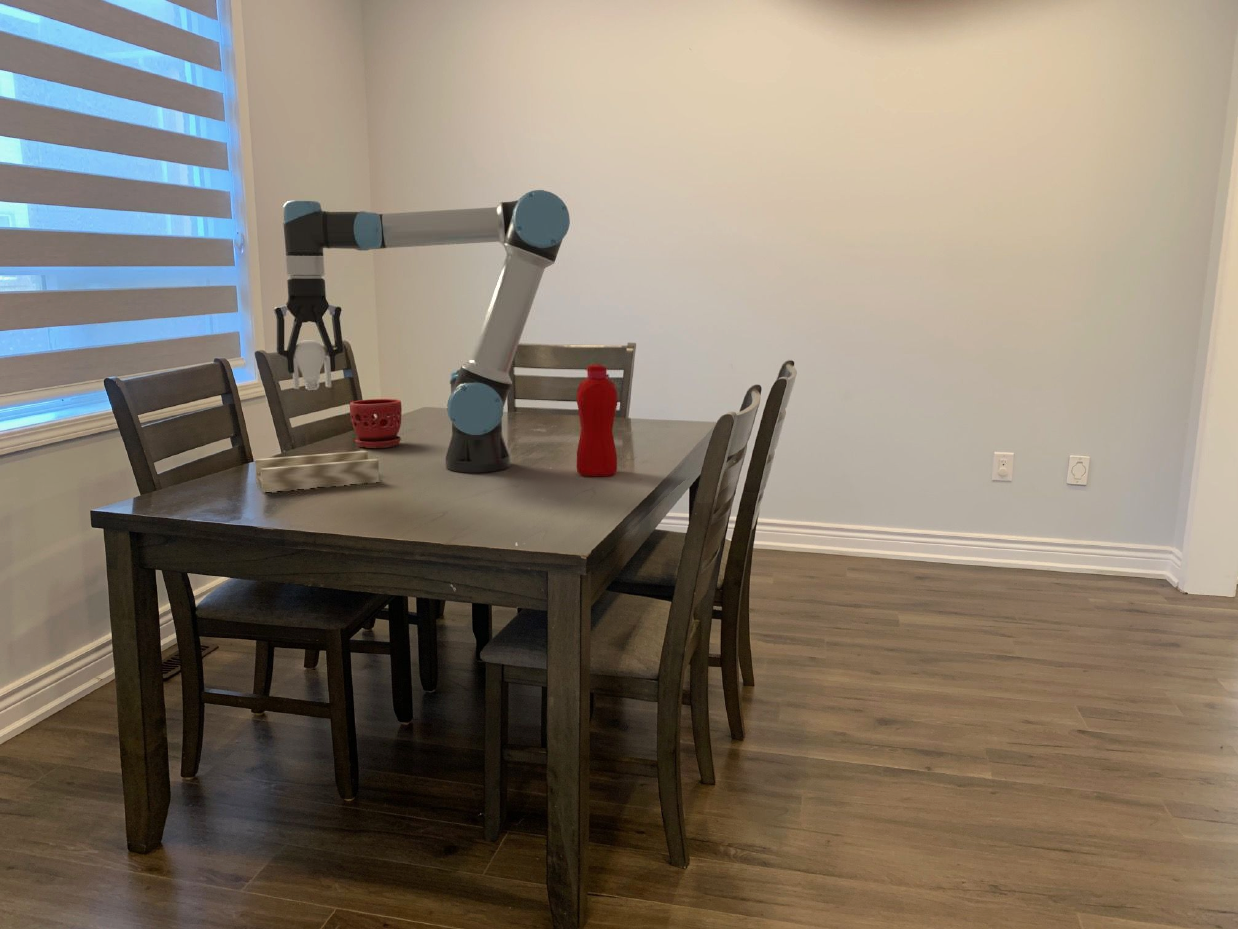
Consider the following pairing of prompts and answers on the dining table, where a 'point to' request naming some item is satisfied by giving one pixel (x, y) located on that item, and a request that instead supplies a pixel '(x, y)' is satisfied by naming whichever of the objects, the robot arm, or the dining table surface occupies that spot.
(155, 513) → the dining table surface
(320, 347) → the light bulb
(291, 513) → the dining table surface
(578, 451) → the water bottle
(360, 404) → the plant pot
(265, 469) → the beige chevron holder
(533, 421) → the dining table surface
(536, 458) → the dining table surface
